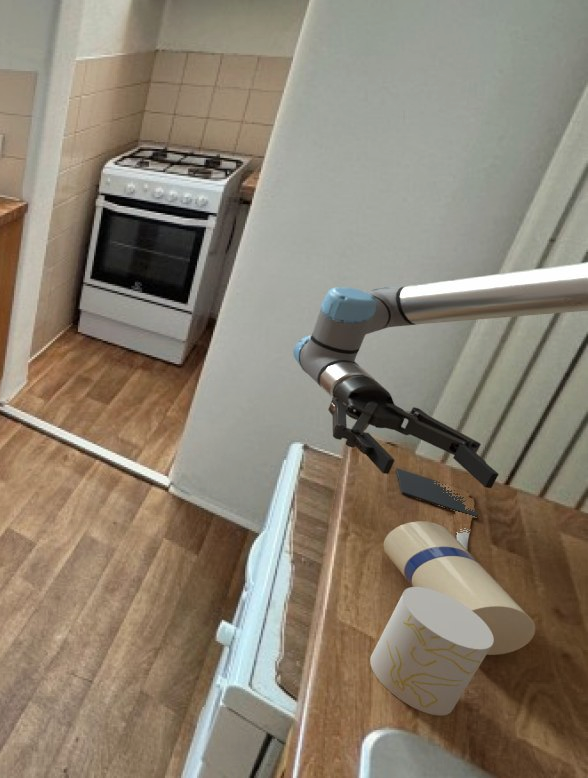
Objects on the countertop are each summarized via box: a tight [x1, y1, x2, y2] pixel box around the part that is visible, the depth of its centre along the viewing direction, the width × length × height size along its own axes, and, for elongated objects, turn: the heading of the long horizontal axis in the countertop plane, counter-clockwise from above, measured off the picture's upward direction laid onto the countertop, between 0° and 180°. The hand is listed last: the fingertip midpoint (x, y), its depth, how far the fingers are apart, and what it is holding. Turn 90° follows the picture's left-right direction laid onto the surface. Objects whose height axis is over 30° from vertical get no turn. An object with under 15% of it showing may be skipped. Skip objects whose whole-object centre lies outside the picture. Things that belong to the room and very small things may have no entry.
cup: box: [369, 586, 494, 716], centre depth 75 cm, size 8×8×12 cm
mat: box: [395, 467, 479, 518], centre depth 109 cm, size 10×8×1 cm
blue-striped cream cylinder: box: [383, 520, 536, 656], centre depth 86 cm, size 14×9×9 cm, turn 169°
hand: (440, 473), depth 90 cm, fingers open, 13 cm apart
